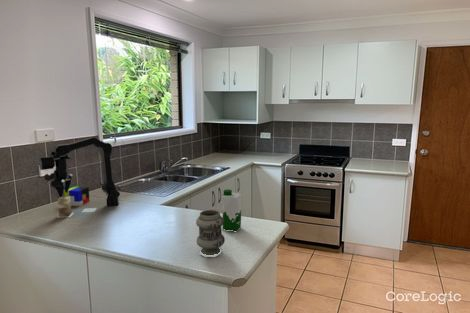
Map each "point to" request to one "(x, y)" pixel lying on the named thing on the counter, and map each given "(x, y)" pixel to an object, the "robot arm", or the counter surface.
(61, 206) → the maple cube
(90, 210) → the mat
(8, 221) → the counter surface
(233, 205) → the milk carton
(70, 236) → the counter surface
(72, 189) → the puzzle toy
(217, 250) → the apothecary jar
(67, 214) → the walnut cube
